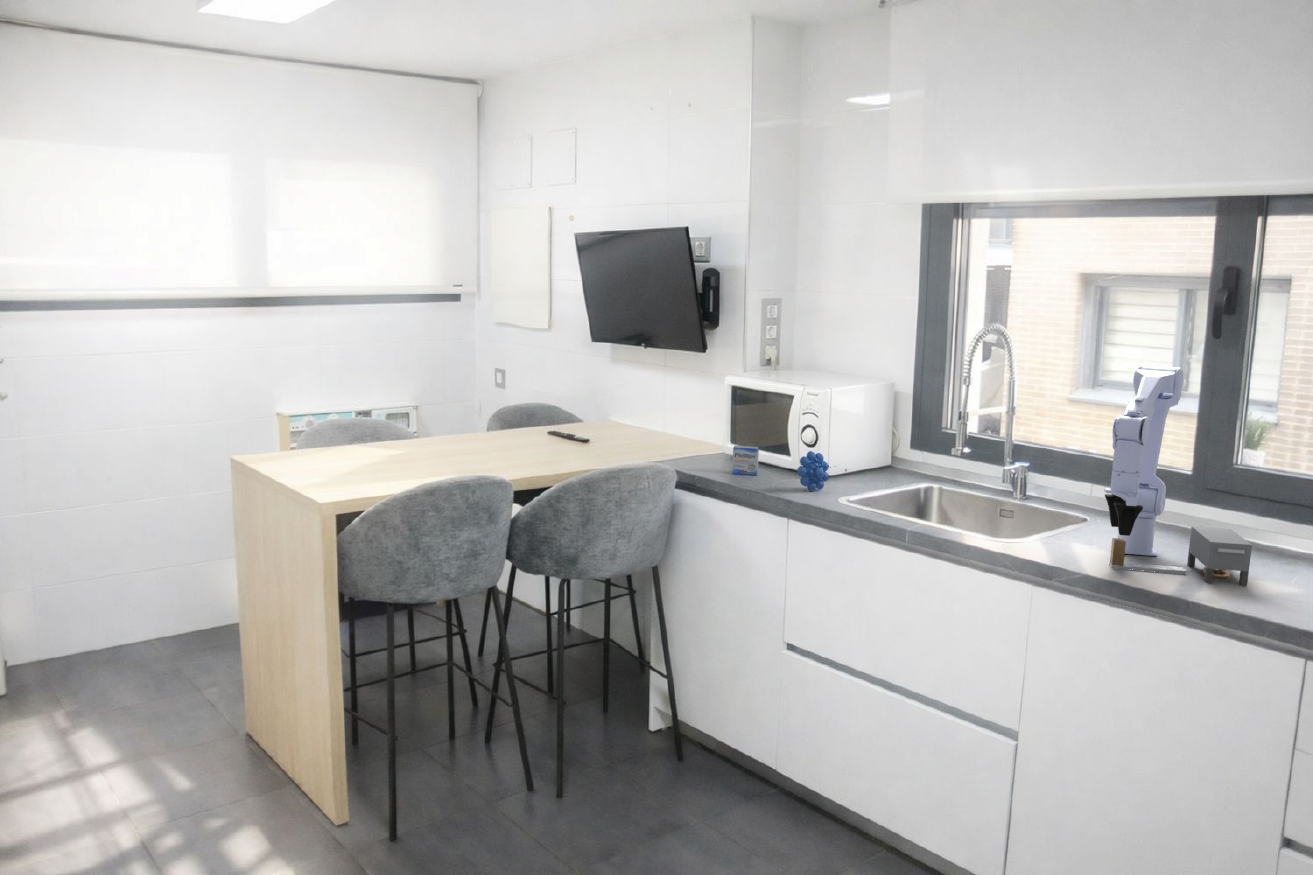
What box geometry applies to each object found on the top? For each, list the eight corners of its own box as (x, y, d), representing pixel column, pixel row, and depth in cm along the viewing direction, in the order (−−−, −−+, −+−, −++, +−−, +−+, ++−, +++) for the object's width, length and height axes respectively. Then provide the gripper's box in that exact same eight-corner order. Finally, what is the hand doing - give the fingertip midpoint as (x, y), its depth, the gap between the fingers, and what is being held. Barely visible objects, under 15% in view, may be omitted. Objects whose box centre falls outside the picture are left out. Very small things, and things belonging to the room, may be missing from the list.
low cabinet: (1187, 564, 233) (1191, 526, 232) (1225, 567, 232) (1230, 528, 230) (1207, 583, 219) (1211, 542, 217) (1248, 587, 217) (1253, 545, 216)
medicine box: (731, 474, 323) (732, 447, 321) (733, 471, 327) (734, 445, 326) (757, 475, 322) (758, 448, 320) (758, 473, 326) (759, 446, 325)
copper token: (1200, 572, 229) (1200, 565, 228) (1224, 574, 228) (1225, 567, 227) (1207, 578, 224) (1207, 572, 224) (1232, 580, 223) (1233, 574, 223)
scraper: (1109, 565, 232) (1111, 537, 231) (1182, 571, 228) (1185, 543, 227) (1111, 569, 229) (1114, 541, 228) (1186, 575, 226) (1189, 546, 225)
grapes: (806, 496, 294) (808, 454, 292) (791, 491, 300) (793, 451, 298) (837, 492, 301) (839, 451, 299) (821, 487, 306) (823, 448, 304)
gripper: (1099, 463, 234) (1094, 521, 236) (1114, 475, 220) (1108, 537, 222) (1133, 465, 233) (1127, 524, 235) (1149, 477, 219) (1143, 540, 221)
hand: (1120, 530), depth 228 cm, fingers open, 7 cm apart
